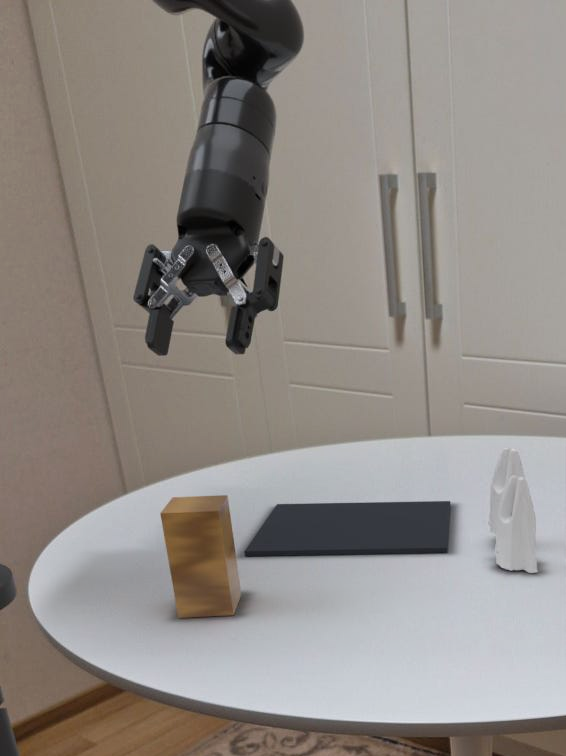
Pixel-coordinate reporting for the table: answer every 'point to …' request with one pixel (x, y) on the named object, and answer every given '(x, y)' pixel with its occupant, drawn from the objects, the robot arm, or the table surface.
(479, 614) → the table surface
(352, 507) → the rubber mat
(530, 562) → the shaker set
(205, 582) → the oak block
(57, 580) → the table surface
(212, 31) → the robot arm
